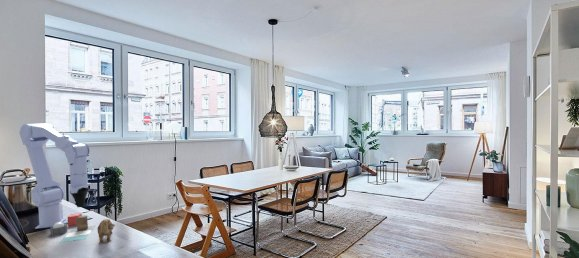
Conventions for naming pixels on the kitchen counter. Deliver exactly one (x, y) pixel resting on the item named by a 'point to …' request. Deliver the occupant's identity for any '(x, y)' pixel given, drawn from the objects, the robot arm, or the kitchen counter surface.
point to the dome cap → (58, 225)
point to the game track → (77, 234)
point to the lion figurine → (105, 230)
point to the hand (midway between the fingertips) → (80, 206)
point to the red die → (73, 219)
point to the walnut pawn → (82, 223)
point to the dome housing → (58, 230)
